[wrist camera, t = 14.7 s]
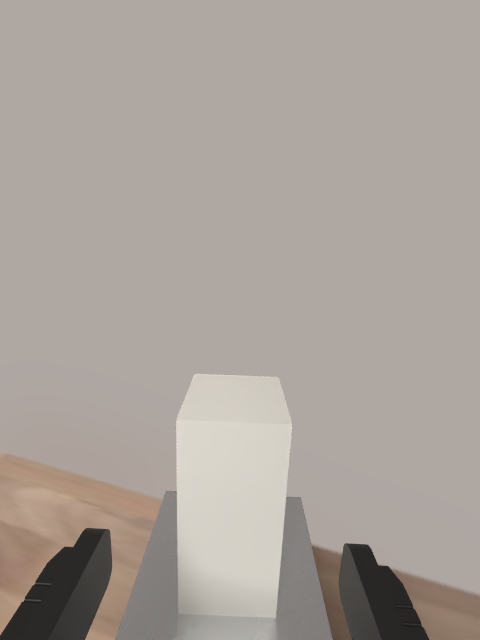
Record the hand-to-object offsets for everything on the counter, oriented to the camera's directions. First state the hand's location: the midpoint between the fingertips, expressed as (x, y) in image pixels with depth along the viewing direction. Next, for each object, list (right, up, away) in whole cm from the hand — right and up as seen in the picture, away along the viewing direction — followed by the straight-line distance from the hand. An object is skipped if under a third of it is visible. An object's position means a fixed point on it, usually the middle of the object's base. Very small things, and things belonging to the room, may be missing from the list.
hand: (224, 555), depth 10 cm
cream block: (0, -7, +7) cm, 10 cm away
